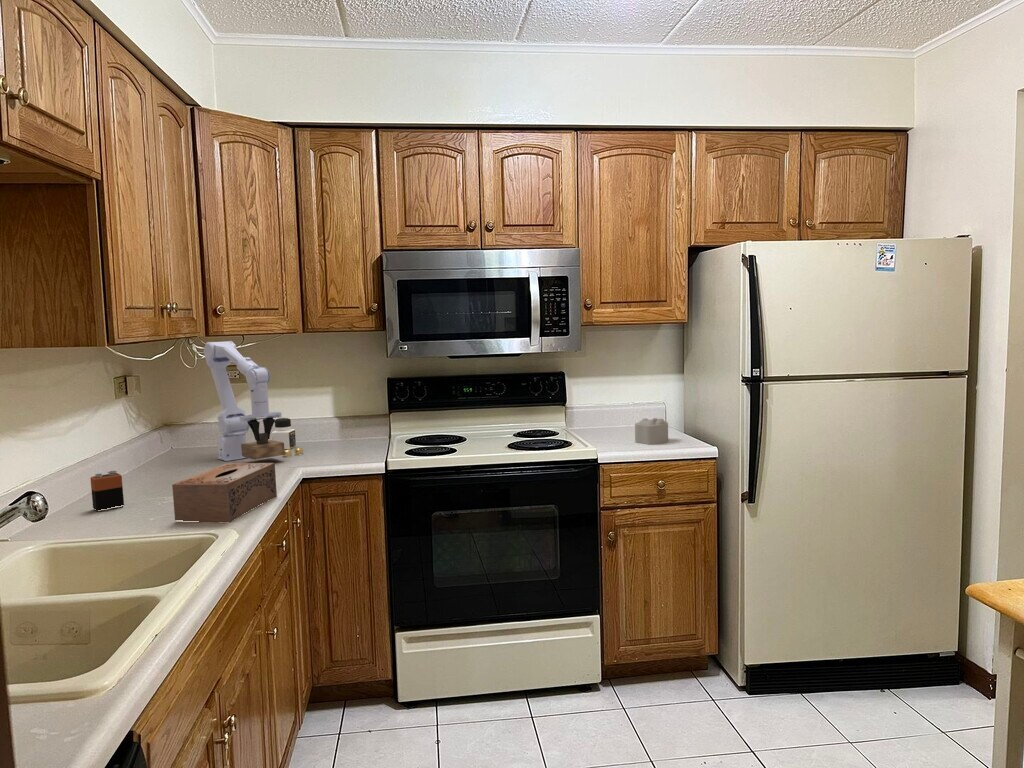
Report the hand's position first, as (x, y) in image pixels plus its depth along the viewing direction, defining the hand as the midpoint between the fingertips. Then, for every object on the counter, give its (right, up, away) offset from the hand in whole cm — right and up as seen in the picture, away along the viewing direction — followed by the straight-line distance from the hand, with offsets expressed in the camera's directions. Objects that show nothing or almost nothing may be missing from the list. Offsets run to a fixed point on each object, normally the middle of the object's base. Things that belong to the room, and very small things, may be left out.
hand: (262, 439), depth 249 cm
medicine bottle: (-2, -6, +29) cm, 30 cm away
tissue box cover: (+14, -14, -63) cm, 66 cm away
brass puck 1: (+5, -7, +11) cm, 14 cm away
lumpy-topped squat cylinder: (+143, -2, +16) cm, 144 cm away
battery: (-22, -14, -58) cm, 63 cm away
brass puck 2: (+9, -7, +14) cm, 18 cm away
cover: (0, -6, +1) cm, 6 cm away
